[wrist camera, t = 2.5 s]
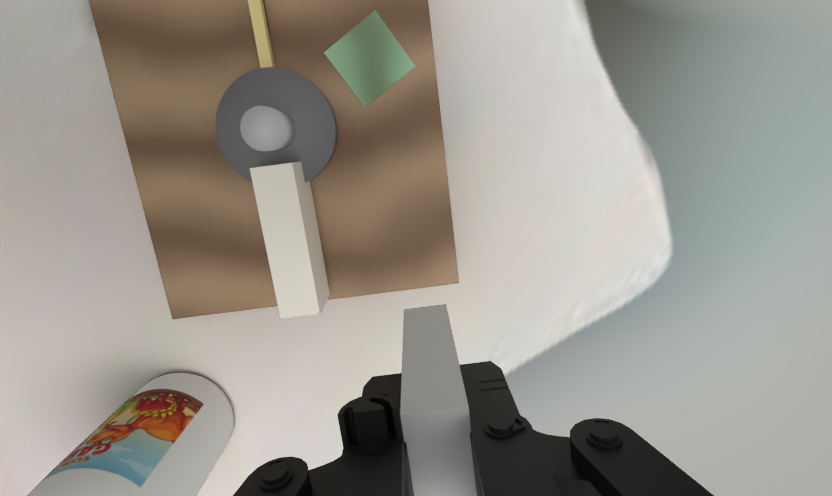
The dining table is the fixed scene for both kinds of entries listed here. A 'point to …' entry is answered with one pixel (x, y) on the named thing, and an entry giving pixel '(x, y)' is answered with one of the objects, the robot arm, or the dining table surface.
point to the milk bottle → (150, 443)
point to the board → (332, 189)
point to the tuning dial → (281, 167)
